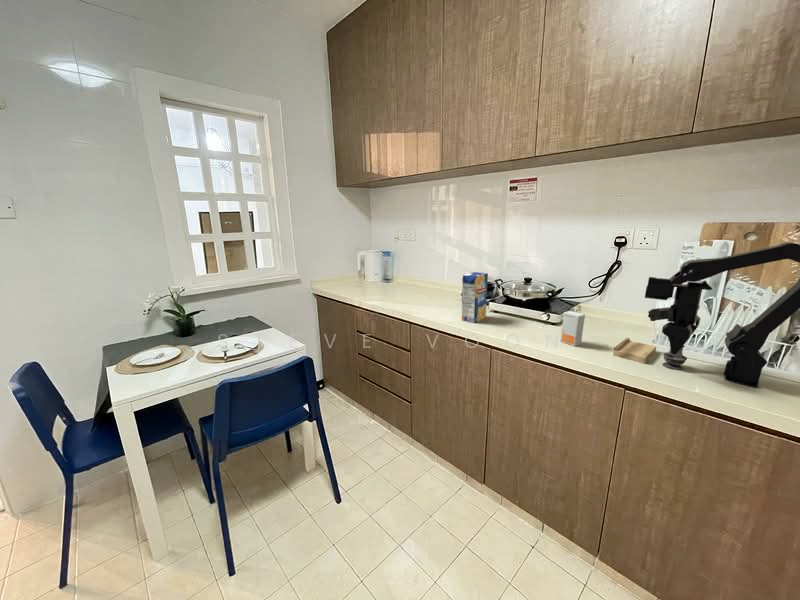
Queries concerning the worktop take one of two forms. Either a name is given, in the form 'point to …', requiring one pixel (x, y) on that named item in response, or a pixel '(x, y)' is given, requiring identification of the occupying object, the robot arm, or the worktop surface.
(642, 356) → the dock
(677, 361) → the salt shaker
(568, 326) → the skincare box
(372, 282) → the worktop surface
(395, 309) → the worktop surface
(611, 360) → the worktop surface
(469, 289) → the beverage box
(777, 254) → the robot arm
